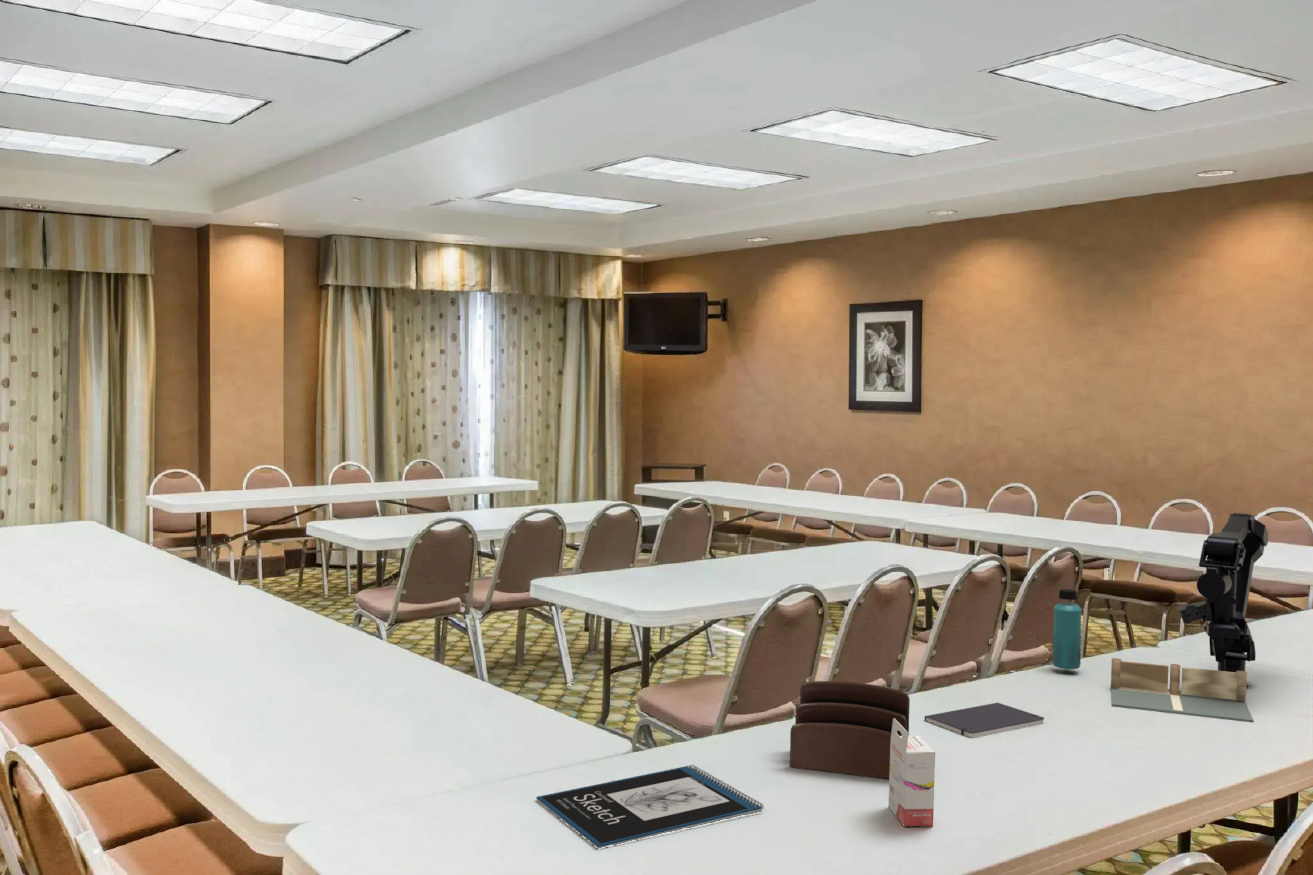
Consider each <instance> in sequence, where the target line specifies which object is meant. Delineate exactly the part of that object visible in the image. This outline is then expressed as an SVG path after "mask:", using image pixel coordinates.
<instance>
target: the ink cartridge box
mask: <svg viewBox="0 0 1313 875" xmlns="http://www.w3.org/2000/svg"><path fill="white" fill-rule="evenodd" d="M897 731H900V733H901V734H902V736H899V735H898V734H897ZM935 768H936V751H935V750H934V749H933V748H932V747H931V746H930V745H929V744H928V743H927V742H926V741H925V740H923V738H922V737H921V736H920V735H909V736H908V732H907V731H906V730H905V729H904V727H903V726H902V725H901V724H900V723H899V722H898V721H897V720H896V719H895V718H894V719H893V724H892V733H891V743H890V775H889V779H888V780H889V781H888V808H889V807H890V808H889V810H890V811H891V810H892V811H893V812H892V811H891V812H892V813H893V814H894V816H895V815H896V816H897V817H896V816H895V817H896V818H897V819H898V820H900V821H901V822H900V821H899V822H900V824H902V823H903V824H904V826H905V827H906V826H911V827H912V826H920V827H933V826H934V811H935V810H934V809H935V808H934V806H935V771H936V770H935ZM903 824H902V825H903ZM904 826H903V827H904ZM905 827H904V828H905Z"/></svg>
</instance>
